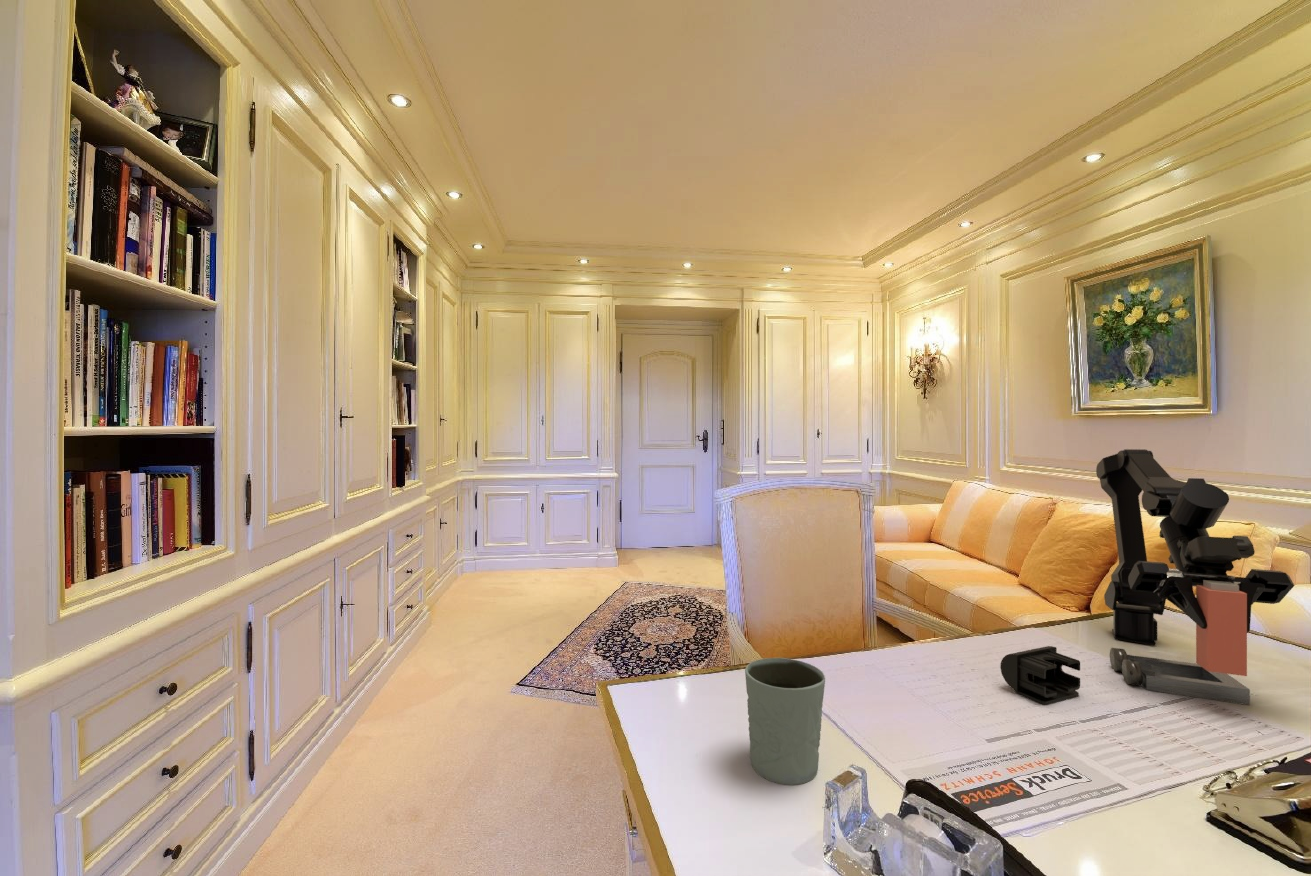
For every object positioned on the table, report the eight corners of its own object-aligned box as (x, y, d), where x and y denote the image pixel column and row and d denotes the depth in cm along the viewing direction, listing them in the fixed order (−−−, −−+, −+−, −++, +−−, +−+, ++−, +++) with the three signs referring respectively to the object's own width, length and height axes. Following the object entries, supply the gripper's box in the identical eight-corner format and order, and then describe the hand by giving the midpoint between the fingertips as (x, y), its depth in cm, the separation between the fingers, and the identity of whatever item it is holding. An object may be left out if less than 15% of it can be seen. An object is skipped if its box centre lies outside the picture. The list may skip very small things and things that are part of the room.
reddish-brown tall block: (1196, 662, 88) (1196, 578, 88) (1233, 667, 86) (1233, 581, 86) (1207, 671, 85) (1207, 583, 85) (1246, 676, 83) (1246, 587, 83)
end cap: (1038, 678, 97) (1038, 640, 97) (1082, 696, 91) (1082, 655, 91) (999, 688, 94) (999, 648, 94) (1042, 706, 87) (1042, 664, 87)
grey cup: (737, 777, 68) (738, 681, 68) (752, 736, 78) (752, 652, 78) (822, 796, 65) (822, 694, 65) (826, 750, 74) (827, 662, 74)
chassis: (1109, 665, 103) (1109, 644, 103) (1216, 680, 97) (1215, 657, 97) (1130, 687, 94) (1130, 664, 94) (1249, 705, 88) (1249, 680, 88)
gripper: (1134, 513, 93) (1164, 595, 83) (1286, 520, 85) (1339, 611, 75) (1117, 551, 100) (1142, 630, 90) (1255, 560, 92) (1300, 648, 82)
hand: (1225, 629), depth 84 cm, fingers closed on reddish-brown tall block, 4 cm apart
